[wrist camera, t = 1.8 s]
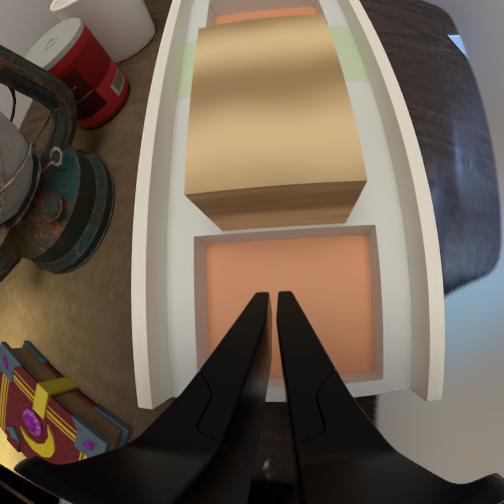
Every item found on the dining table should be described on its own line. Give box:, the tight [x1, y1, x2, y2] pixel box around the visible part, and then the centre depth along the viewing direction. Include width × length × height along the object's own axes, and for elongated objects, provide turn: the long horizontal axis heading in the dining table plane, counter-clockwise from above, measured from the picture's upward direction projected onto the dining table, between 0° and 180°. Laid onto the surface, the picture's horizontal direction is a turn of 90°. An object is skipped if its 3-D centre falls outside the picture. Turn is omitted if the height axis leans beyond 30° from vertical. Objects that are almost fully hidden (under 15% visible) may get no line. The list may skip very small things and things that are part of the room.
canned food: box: [25, 18, 129, 129], centre depth 23 cm, size 8×8×11 cm
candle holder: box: [50, 0, 155, 63], centre depth 24 cm, size 10×10×12 cm
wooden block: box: [184, 15, 367, 231], centre depth 17 cm, size 12×8×7 cm, turn 2°
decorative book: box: [0, 341, 132, 464], centre depth 21 cm, size 11×16×5 cm
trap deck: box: [131, 0, 445, 409], centre depth 21 cm, size 40×18×6 cm, turn 2°
